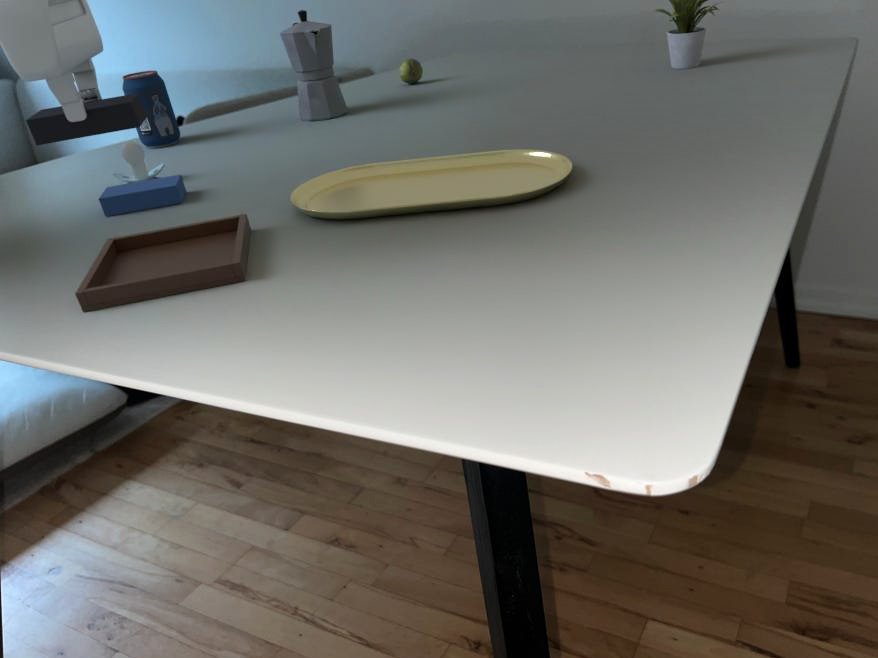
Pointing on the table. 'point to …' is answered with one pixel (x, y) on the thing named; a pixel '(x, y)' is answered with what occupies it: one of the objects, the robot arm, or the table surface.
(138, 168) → the pacifier
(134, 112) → the pad charcoal
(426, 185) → the serving platter
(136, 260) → the tray
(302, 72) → the coffeepot
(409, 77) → the lime
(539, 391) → the table surface
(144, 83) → the soda can
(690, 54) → the house plant
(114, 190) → the pad blue
